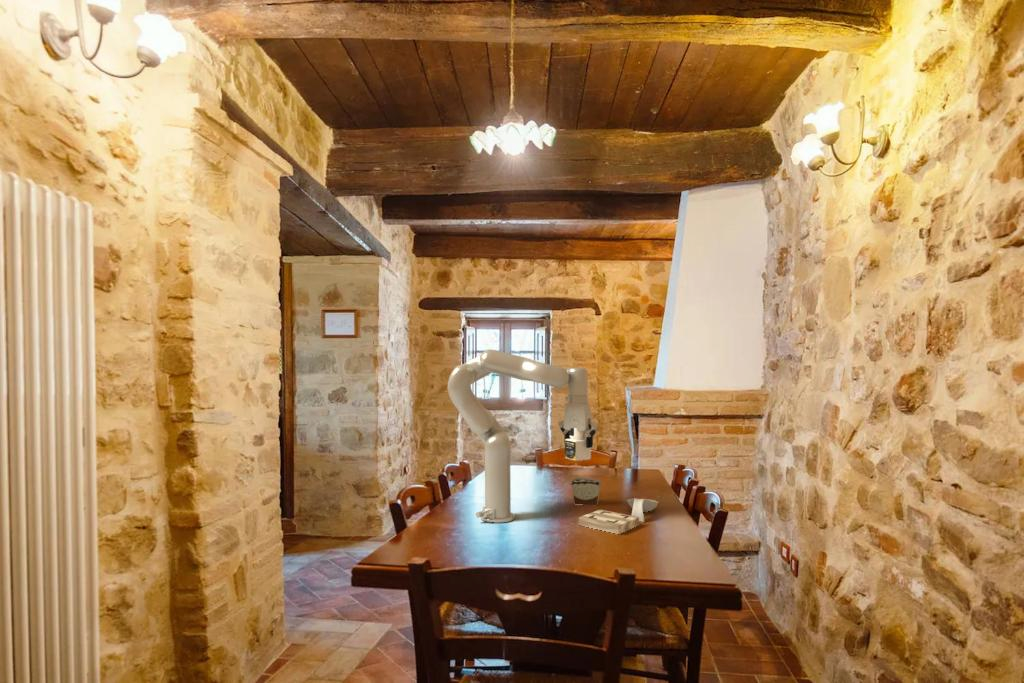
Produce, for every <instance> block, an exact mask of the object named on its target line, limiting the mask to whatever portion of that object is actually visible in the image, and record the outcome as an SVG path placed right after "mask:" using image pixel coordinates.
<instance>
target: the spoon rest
mask: <svg viewBox="0 0 1024 683" xmlns="http://www.w3.org/2000/svg"><path fill="white" fill-rule="evenodd" d="M626 501H627V503H628V506H630V508H632V510H631V514H630V515H631V516H636V517H639V521H641V522H640V523H645V514H644V513H643V512H645V513H649V512H648V511H650V512H652V511H654V510H655V509H656V508H657V506H658V505H659V501H658V500H655V499H648V498H636V497H635V498H629V499H627V500H626Z"/></svg>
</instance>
